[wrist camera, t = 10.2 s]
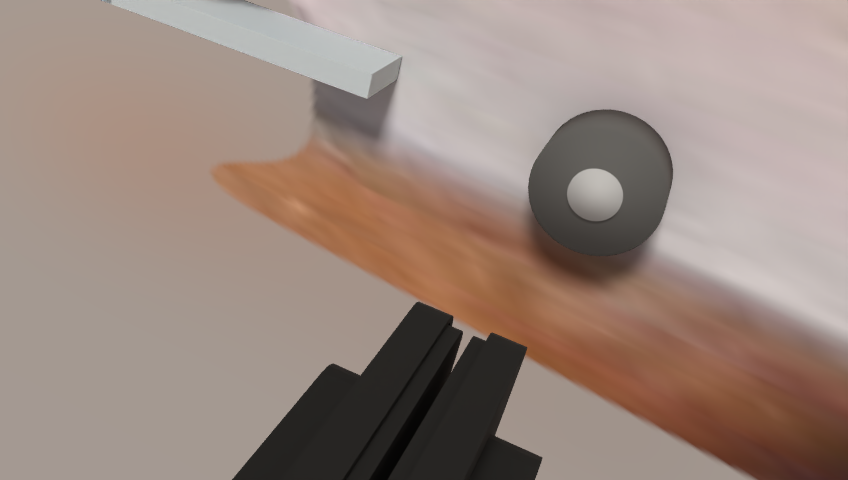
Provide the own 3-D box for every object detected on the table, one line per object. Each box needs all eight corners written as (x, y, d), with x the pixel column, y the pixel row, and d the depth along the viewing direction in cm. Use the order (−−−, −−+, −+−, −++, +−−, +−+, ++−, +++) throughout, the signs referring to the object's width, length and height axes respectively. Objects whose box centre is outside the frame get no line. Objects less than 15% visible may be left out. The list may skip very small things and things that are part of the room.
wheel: (693, 136, 36) (687, 159, 33) (645, 248, 39) (636, 277, 36) (565, 91, 37) (550, 110, 34) (527, 203, 40) (511, 228, 38)
